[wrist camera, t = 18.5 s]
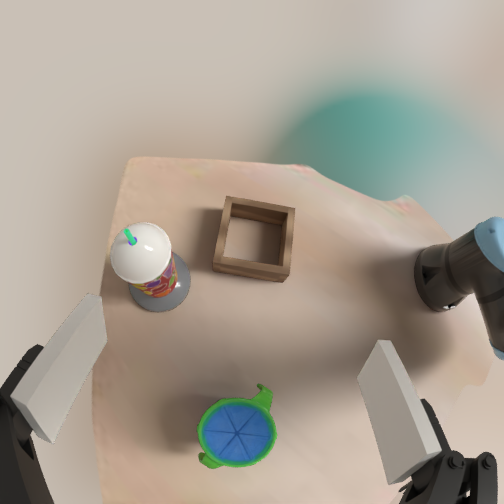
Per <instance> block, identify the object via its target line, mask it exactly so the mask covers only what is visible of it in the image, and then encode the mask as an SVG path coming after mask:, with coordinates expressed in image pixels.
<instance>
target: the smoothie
mask: <svg viewBox="0 0 504 504" xmlns="http://www.w3.org/2000/svg"><path fill="white" fill-rule="evenodd" d="M110 260H111V265H112V267H113V269H114V271H115V273H116V274H117V275H118V276H119V277H120V278H122V279H123V280H125V281H127V282H128V283H130V284H131V285H133V286H134V287H136V288H137V289H139V290H140V291H142V292H144V293H145V294H147V295H148V296H151V297H154V298H160V297H164V296H166V295H168V294H169V293H170V292H172V291H173V289H174V288H175V286H176V283H177V271H176V267H175V262H174V258H173V254H172V249H171V243H170V240H169V237H168V236H167V234H166V233H165V231H164V230H163V229H161V228H160V227H159V226H157V225H155V224H152V223H148V222H139V223H134V224H131V225H128V226H127V227H125V228H124V229H122V230H121V231H120V232H119V234H118V235H117V236H116V238H115V239H114V242H113V244H112V246H111V252H110Z"/></svg>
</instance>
